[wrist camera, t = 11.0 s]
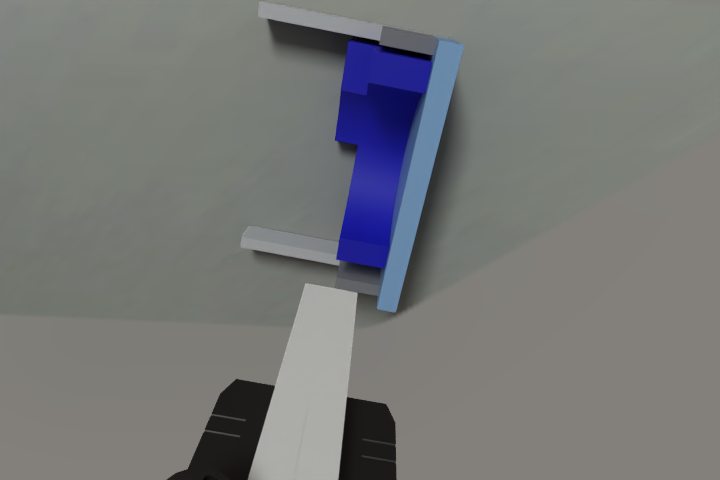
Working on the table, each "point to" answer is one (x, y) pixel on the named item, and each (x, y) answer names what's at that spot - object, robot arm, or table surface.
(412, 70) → the blue arched bracket piece
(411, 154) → the blue wall bracket
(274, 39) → the table surface
